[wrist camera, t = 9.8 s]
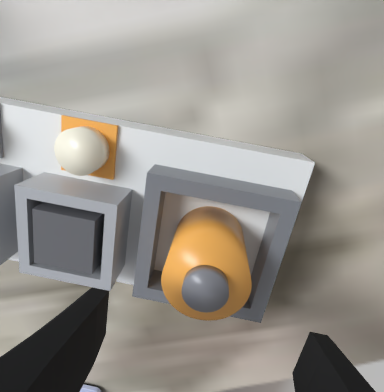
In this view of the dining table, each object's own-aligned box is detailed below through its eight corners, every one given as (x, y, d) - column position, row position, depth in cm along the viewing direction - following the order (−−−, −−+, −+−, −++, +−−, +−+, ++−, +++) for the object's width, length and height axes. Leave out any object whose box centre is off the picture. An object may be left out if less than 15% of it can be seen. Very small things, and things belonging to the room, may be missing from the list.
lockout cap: (235, 272, 17) (241, 338, 12) (171, 259, 17) (153, 320, 12) (250, 213, 16) (264, 262, 11) (181, 200, 16) (164, 243, 11)
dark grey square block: (109, 250, 17) (92, 274, 15) (59, 240, 17) (34, 262, 15) (113, 202, 16) (94, 221, 14) (59, 192, 16) (32, 208, 14)
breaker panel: (259, 286, 20) (271, 344, 15) (-30, 228, 21) (-103, 266, 16) (301, 153, 17) (334, 175, 12) (-48, 87, 17) (-147, 84, 12)
